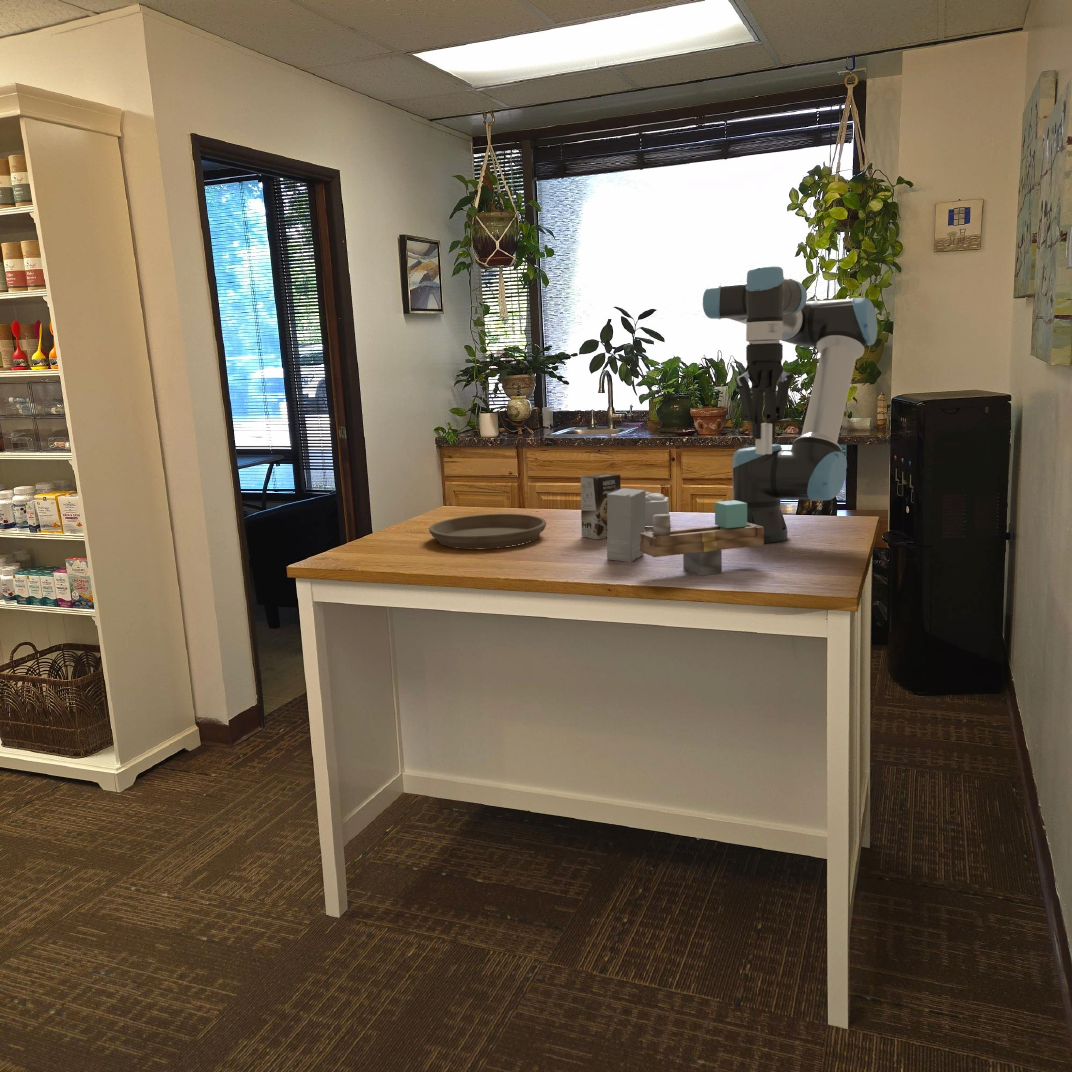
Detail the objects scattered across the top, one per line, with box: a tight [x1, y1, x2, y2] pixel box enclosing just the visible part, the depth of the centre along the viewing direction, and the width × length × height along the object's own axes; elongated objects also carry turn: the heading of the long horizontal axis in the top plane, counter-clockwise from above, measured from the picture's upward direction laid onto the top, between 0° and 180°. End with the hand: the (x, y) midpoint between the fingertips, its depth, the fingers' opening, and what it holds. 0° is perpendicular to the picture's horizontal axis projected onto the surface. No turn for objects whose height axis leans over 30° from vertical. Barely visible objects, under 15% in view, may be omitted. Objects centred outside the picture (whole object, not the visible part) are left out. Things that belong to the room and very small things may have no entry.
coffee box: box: [580, 473, 622, 540], centre depth 245 cm, size 9×6×16 cm
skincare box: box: [606, 487, 646, 563], centre depth 217 cm, size 8×7×16 cm
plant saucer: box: [428, 513, 547, 549], centre depth 248 cm, size 31×31×5 cm
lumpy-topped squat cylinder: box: [645, 491, 670, 526], centre depth 260 cm, size 10×13×9 cm
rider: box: [714, 499, 747, 530], centre depth 203 cm, size 5×5×7 cm
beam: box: [640, 514, 765, 577], centre depth 202 cm, size 26×8×13 cm, turn 108°
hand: (763, 453), depth 203 cm, fingers closed
